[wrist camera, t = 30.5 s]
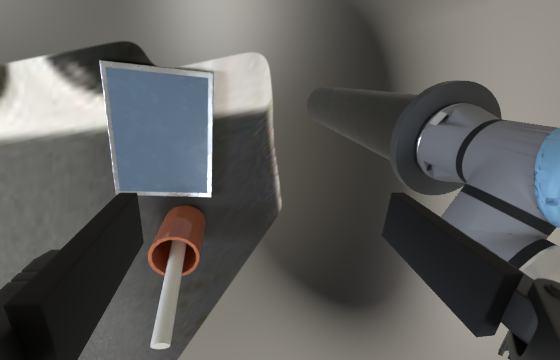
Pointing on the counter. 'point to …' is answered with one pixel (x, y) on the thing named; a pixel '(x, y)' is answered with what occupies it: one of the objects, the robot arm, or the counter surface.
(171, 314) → the stylus
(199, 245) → the pen pot
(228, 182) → the counter surface
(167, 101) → the tablet
